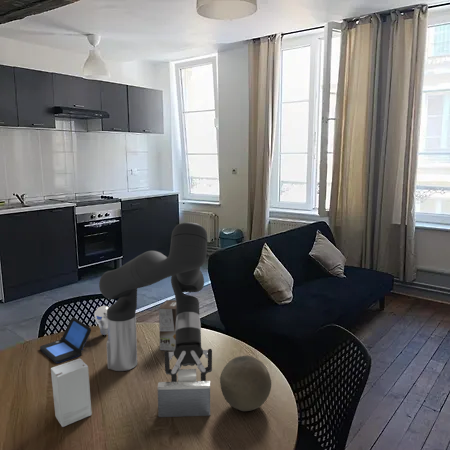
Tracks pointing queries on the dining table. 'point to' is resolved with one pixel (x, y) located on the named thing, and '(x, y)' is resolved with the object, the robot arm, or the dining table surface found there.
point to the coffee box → (167, 325)
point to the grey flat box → (184, 398)
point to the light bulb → (102, 319)
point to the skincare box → (71, 392)
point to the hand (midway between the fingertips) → (188, 388)
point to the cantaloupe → (245, 383)
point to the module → (186, 375)
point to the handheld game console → (68, 342)
